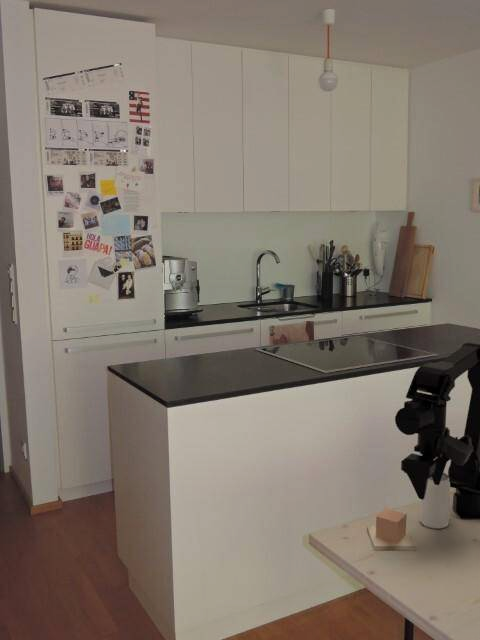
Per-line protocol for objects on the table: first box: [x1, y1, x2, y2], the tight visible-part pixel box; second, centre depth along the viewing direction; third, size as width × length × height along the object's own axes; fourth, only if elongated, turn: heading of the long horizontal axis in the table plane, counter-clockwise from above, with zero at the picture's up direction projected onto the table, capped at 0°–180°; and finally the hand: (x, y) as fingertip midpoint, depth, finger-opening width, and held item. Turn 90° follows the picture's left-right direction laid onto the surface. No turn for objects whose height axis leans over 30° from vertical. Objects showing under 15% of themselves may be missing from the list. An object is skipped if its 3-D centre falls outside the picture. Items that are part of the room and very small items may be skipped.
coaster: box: [366, 525, 417, 551], centre depth 146 cm, size 9×9×1 cm
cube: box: [375, 507, 407, 544], centre depth 146 cm, size 5×5×5 cm
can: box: [419, 472, 451, 530], centre depth 153 cm, size 6×6×12 cm
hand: (429, 491), depth 143 cm, fingers open, 9 cm apart
